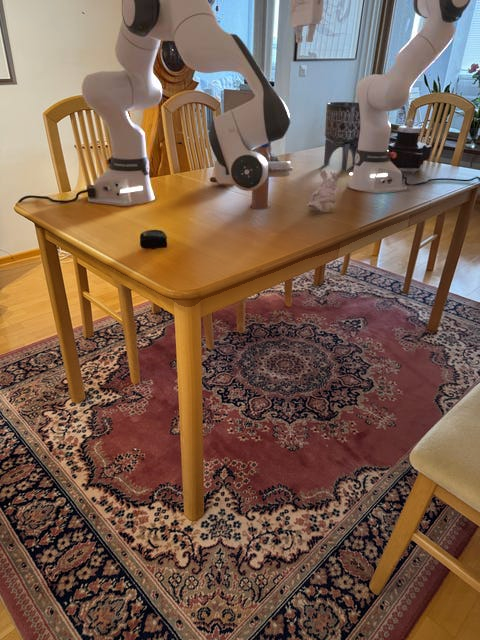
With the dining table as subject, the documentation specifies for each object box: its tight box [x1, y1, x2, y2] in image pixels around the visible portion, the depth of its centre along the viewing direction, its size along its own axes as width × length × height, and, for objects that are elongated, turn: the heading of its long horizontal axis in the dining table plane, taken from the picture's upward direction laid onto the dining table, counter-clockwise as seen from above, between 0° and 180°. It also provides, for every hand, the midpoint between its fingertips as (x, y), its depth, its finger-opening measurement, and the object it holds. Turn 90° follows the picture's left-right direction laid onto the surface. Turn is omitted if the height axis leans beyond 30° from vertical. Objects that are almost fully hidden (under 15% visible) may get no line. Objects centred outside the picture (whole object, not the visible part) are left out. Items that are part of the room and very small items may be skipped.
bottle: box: [251, 147, 270, 210], centre depth 147 cm, size 5×5×21 cm
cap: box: [260, 142, 270, 148], centre depth 142 cm, size 4×5×2 cm
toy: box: [209, 176, 235, 188], centre depth 176 cm, size 11×6×15 cm
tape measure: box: [139, 229, 168, 250], centre depth 117 cm, size 7×7×4 cm
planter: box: [323, 101, 360, 172], centre depth 204 cm, size 20×20×26 cm
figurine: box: [305, 168, 338, 213], centre depth 146 cm, size 8×15×13 cm, turn 145°
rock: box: [268, 152, 281, 162], centre depth 204 cm, size 13×9×6 cm, turn 131°
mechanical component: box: [388, 119, 433, 174], centre depth 204 cm, size 22×21×30 cm
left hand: (253, 168), depth 126 cm, fingers open, 8 cm apart
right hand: (304, 42), depth 147 cm, fingers open, 8 cm apart
